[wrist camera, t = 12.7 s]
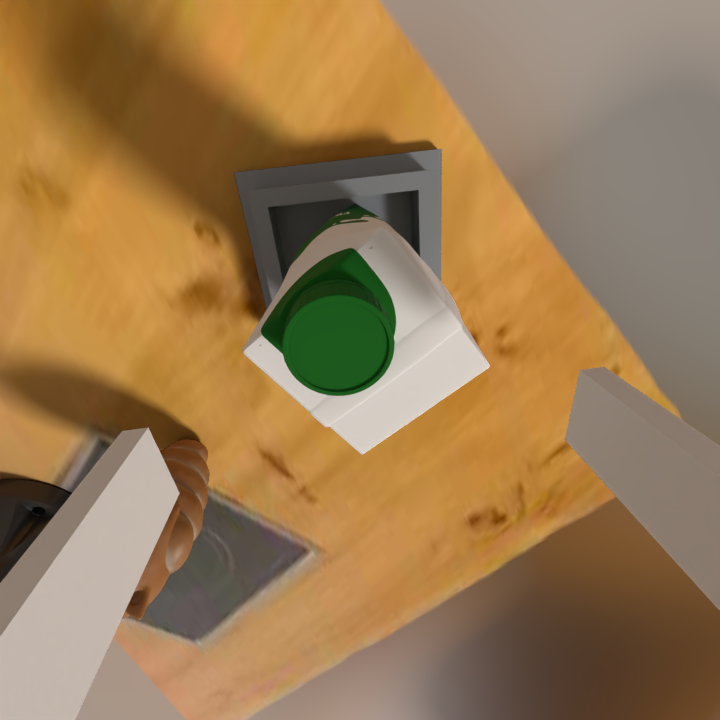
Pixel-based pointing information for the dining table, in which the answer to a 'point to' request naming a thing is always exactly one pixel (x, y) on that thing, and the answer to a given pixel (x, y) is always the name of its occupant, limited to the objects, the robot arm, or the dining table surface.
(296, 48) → the dining table surface
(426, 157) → the dock
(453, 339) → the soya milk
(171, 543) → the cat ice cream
